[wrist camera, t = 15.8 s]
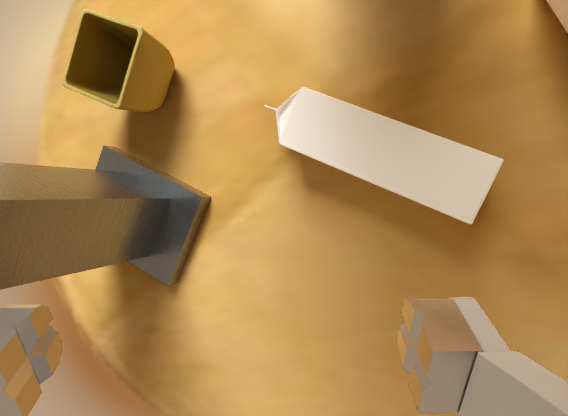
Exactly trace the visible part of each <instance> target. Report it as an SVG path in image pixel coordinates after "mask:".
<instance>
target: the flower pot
mask: <svg viewBox="0 0 568 416" xmlns="http://www.w3.org/2000/svg"><path fill="white" fill-rule="evenodd" d="M173 72H174V61H173V58H172V55H171V54H170V52H169V51H168V49H167V48H166V47H165V46H164V45H163V44H161V43H160V42H159V41H158V40H156V39H155V38H154V37H153V36H151V35H150V34H149V33H148V32H146V31H145V30H144V29H143V28H141V27H140V26H137V25H134V24H130V23H127V22H123V21H120V20H116V19H113V18H111V17H108V16H105V15H102V14H99V13H97V12H94V11H91V10H88V9H83V10H82V12H81V15H80V18H79V22H78V26H77V29H76V33H75V37H74V41H73V44H72V48H71V52H70V55H69V59H68V63H67V66H66V70H65V73H64V77H63V81H62V85H63V86H64V87H66V88H68V89H71V90H73V91H76V92H78V93H81V94H83V95H85V96H88V97H90V98H92V99H95V100H97V101H99V102H102V103H104V104H106V105H108V106H111V107H113V108H116V109H122V110H129V111H137V112H150V111H153V110H156V109H157V108H159V107H160V106H161V105H162V104H163V103H164V100H165V97H166V94H167V91H168V88H169V84H170V81H171V78H172V75H173Z"/></svg>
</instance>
